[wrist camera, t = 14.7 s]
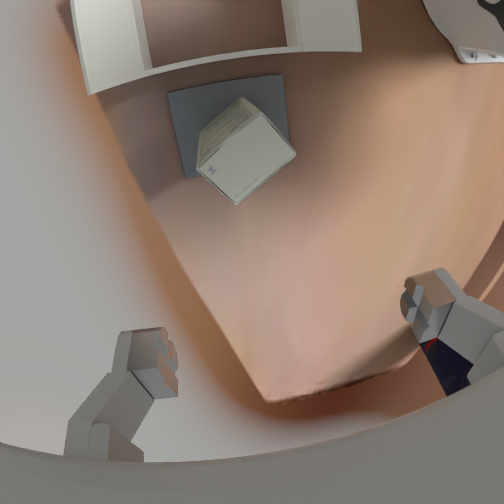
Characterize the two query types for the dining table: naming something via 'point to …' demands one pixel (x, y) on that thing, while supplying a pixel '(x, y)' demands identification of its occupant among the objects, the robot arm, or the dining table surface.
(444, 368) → the dark blue bottle
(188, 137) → the mat
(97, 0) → the carton
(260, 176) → the skincare box
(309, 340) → the dining table surface
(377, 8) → the dining table surface
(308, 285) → the dining table surface
